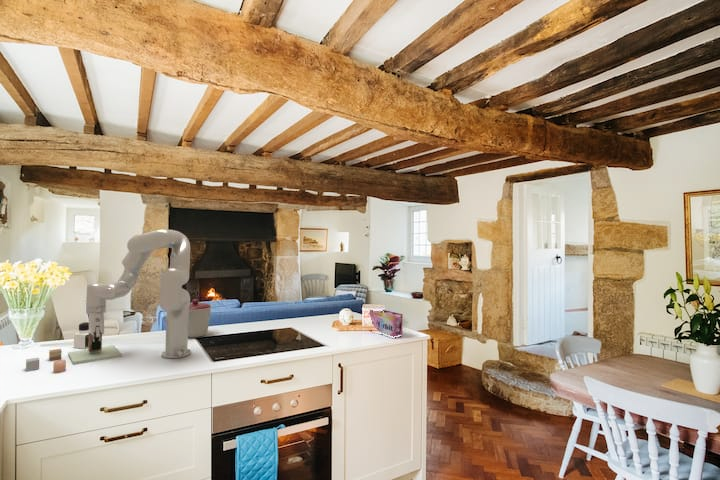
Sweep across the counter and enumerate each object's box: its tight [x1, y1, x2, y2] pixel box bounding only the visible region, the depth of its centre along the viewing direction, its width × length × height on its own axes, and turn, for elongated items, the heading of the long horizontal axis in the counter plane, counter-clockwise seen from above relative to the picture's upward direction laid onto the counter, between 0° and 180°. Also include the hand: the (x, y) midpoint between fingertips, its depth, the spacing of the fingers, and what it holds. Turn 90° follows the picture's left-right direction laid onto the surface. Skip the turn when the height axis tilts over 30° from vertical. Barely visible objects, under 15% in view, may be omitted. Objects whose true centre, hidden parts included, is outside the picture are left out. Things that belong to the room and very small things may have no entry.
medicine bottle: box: [73, 321, 90, 350], centre depth 186 cm, size 7×7×12 cm
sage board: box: [67, 345, 123, 365], centre depth 172 cm, size 18×18×1 cm
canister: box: [188, 298, 213, 339], centre depth 211 cm, size 18×18×21 cm
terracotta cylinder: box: [52, 359, 67, 374], centre depth 151 cm, size 4×4×4 cm
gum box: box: [368, 309, 404, 337], centre depth 224 cm, size 24×8×14 cm, turn 39°
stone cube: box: [25, 357, 40, 372], centre depth 153 cm, size 4×4×4 cm
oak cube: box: [48, 348, 63, 362], centre depth 166 cm, size 4×4×4 cm
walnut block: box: [87, 332, 103, 353], centre depth 172 cm, size 4×4×8 cm
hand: (95, 348), depth 172 cm, fingers closed on walnut block, 4 cm apart
